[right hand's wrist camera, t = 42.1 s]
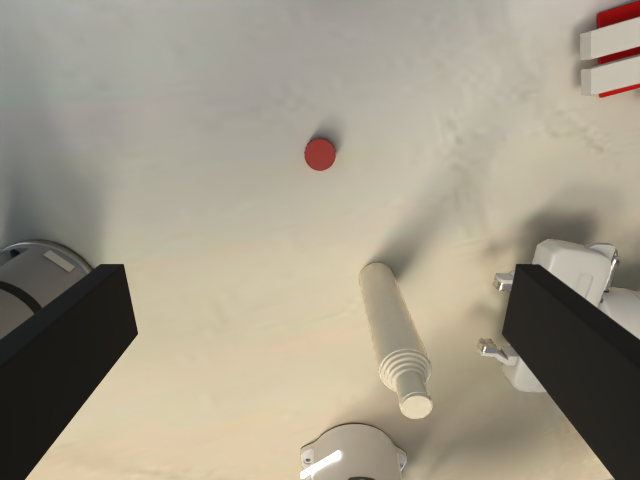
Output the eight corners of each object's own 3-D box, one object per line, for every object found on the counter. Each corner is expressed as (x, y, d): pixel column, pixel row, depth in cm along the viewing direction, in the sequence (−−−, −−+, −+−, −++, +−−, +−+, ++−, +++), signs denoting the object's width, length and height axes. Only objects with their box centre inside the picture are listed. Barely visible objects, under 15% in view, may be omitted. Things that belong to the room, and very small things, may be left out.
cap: (323, 131, 46) (324, 132, 44) (340, 157, 47) (341, 159, 45) (299, 149, 47) (298, 151, 45) (316, 174, 48) (316, 177, 46)
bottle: (366, 298, 55) (399, 437, 32) (353, 270, 53) (378, 396, 30) (398, 285, 54) (454, 418, 31) (385, 257, 52) (435, 375, 30)
